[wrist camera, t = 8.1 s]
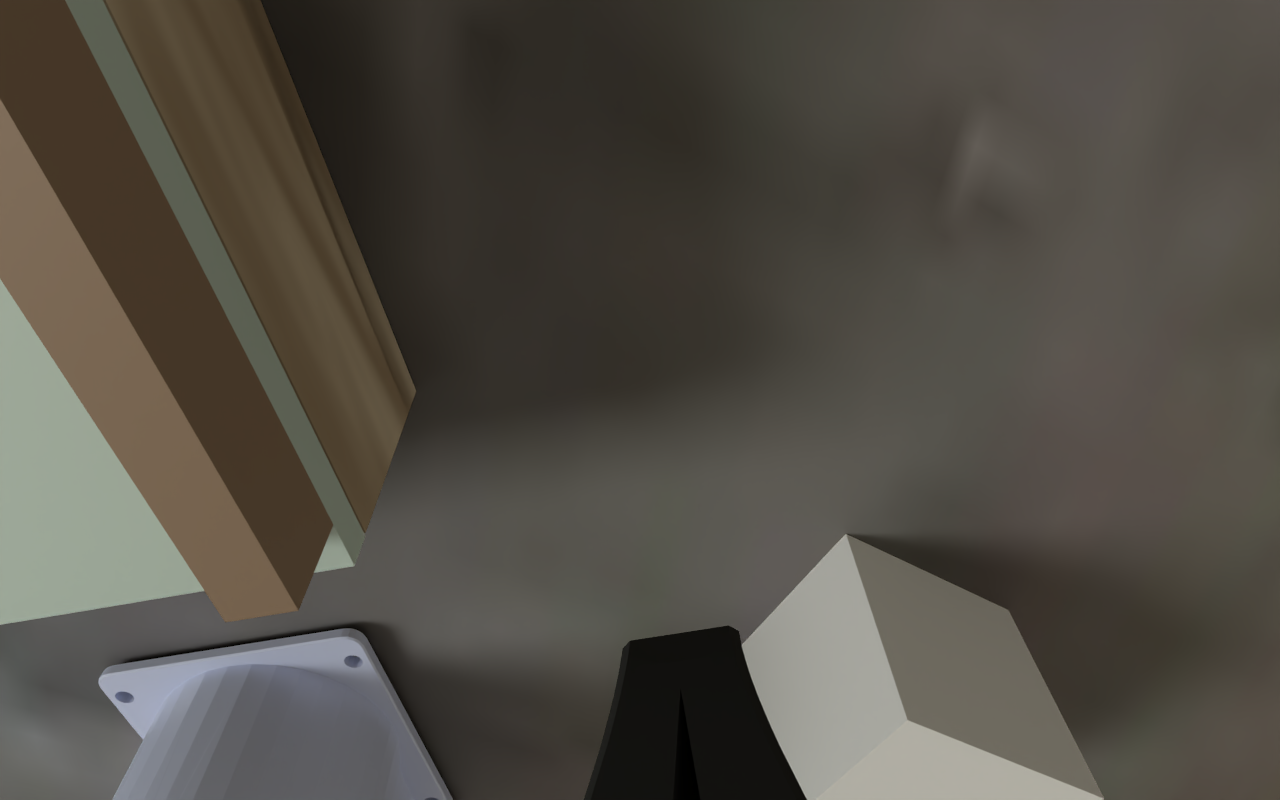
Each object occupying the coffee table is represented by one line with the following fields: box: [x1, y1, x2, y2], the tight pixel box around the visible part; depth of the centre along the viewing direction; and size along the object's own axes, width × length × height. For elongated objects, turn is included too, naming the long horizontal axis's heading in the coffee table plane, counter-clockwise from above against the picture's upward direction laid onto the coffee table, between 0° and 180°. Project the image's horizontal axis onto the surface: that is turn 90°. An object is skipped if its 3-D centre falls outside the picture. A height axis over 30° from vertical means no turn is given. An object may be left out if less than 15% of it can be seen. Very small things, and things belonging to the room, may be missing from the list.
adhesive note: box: [742, 534, 1104, 800], centre depth 23 cm, size 6×6×6 cm
